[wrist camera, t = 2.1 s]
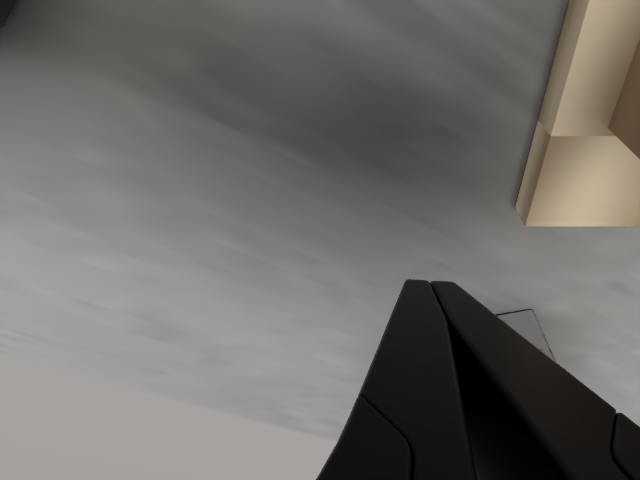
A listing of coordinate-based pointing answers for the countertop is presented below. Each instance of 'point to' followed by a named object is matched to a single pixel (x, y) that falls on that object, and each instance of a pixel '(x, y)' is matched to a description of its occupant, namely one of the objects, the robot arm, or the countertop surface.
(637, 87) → the walnut block
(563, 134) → the trap lane
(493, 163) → the countertop surface
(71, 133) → the countertop surface
